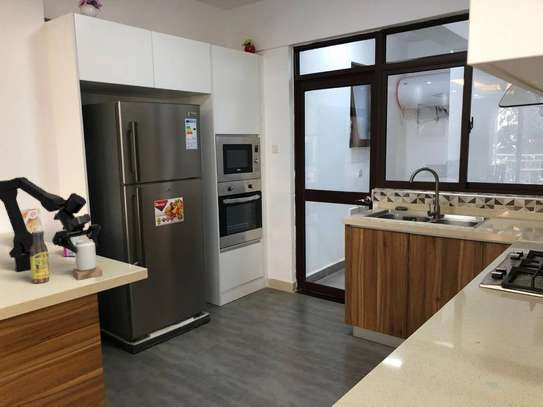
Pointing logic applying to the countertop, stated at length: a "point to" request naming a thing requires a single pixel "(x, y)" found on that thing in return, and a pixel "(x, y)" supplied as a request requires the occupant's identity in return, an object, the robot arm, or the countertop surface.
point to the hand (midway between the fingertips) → (87, 250)
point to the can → (85, 255)
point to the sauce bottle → (39, 258)
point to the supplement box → (67, 252)
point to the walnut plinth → (87, 273)
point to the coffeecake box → (32, 219)
